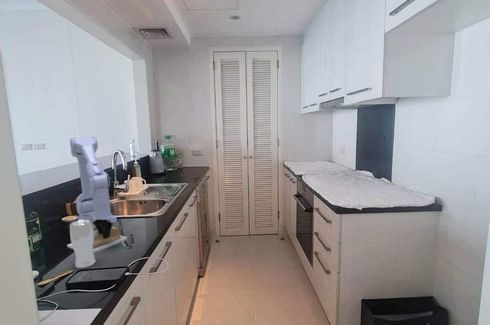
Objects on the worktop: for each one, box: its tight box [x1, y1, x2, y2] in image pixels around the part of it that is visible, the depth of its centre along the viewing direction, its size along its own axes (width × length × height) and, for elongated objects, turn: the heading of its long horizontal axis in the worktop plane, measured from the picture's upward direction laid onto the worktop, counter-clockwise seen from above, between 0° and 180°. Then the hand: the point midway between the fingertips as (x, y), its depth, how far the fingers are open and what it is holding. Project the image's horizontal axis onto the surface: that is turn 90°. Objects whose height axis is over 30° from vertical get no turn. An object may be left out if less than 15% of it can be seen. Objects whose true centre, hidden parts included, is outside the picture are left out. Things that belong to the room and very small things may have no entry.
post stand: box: [66, 230, 128, 254], centre depth 112 cm, size 16×16×6 cm
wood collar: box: [93, 226, 121, 248], centre depth 112 cm, size 12×12×4 cm
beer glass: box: [69, 219, 96, 269], centre depth 93 cm, size 7×7×15 cm
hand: (105, 237), depth 109 cm, fingers closed
